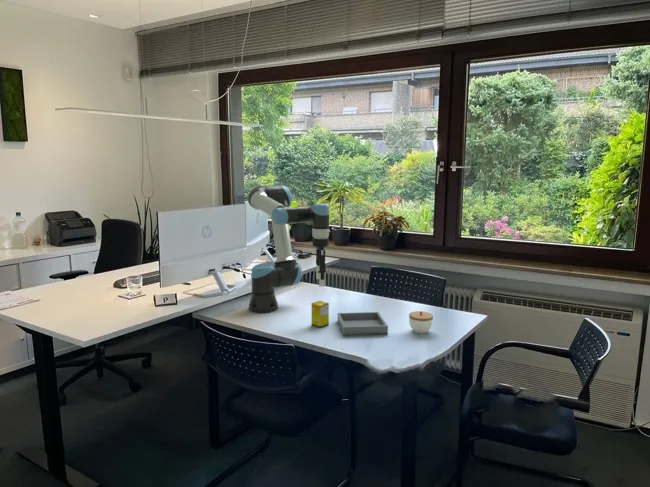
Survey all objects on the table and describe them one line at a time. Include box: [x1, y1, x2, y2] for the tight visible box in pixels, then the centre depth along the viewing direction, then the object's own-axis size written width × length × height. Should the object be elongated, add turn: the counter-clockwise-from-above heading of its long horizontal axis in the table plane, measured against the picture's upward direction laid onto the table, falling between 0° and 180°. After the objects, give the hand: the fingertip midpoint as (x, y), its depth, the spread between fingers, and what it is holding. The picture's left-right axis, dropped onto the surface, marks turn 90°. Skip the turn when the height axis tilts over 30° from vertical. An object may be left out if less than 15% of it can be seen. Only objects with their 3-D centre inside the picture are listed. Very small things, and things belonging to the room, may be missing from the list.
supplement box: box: [311, 300, 330, 329], centre depth 230 cm, size 6×6×11 cm
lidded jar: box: [408, 310, 434, 334], centre depth 223 cm, size 11×11×9 cm
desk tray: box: [337, 311, 389, 337], centre depth 228 cm, size 20×20×4 cm
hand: (320, 282), depth 228 cm, fingers open, 13 cm apart
